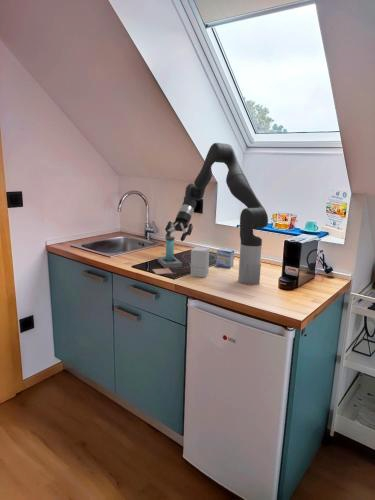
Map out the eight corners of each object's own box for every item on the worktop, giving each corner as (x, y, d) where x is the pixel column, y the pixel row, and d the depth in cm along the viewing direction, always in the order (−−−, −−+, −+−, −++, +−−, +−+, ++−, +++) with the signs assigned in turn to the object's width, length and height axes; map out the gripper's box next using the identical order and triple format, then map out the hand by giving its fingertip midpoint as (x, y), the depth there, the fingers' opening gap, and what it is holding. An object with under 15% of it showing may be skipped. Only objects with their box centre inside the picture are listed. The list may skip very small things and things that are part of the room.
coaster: (172, 274, 178) (172, 272, 178) (156, 275, 176) (156, 273, 175) (168, 269, 185) (168, 268, 185) (152, 270, 183) (152, 269, 183)
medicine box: (215, 266, 194) (216, 249, 192) (219, 264, 198) (220, 248, 196) (230, 268, 190) (231, 251, 188) (233, 266, 194) (234, 250, 192)
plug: (175, 264, 192) (175, 237, 189) (166, 265, 191) (166, 238, 188) (172, 262, 196) (173, 236, 193) (164, 263, 195) (164, 236, 192)
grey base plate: (182, 267, 189) (182, 263, 188) (164, 269, 186) (164, 264, 185) (173, 260, 202) (174, 256, 201) (157, 261, 199) (157, 257, 198)
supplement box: (208, 273, 181) (210, 247, 178) (205, 277, 174) (206, 251, 171) (193, 271, 183) (194, 246, 180) (189, 276, 176) (190, 249, 173)
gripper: (170, 209, 202) (159, 233, 195) (194, 211, 196) (184, 236, 189) (175, 218, 208) (164, 242, 201) (198, 220, 202) (188, 245, 195)
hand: (174, 239), depth 195 cm, fingers open, 8 cm apart
